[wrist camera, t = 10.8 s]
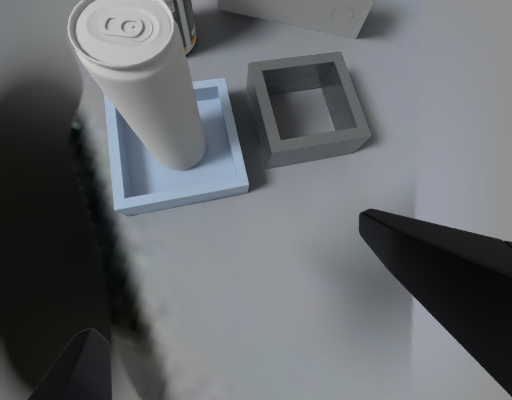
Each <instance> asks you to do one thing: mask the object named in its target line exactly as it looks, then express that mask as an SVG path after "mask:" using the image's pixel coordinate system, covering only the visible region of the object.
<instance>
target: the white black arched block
mask: <svg viewBox="0 0 512 400" xmlns="http://www.w3.org/2000/svg"><path fill="white" fill-rule="evenodd" d="M374 2H375V0H218V9H219V10H223V11H228V12H233V13H237V14H242V15H246V16H251V17H256V18H260V19H265V20H270V21H274V22H279V23H284V24H288V25H293V26H298V27H302V28H307V29H311V30H316V31H321V32H325V33H330V34H335V35H339V36H344V37H349V38H353V39H356V38H357V36H358V34H359V32H360V30H361V28H362V26H363V24H364V22H365V20H366V18H367V16H368V14H369V12H370V10H371V8H372V6H373V4H374Z"/></svg>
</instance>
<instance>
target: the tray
mask: <svg viewBox="0 0 512 400" xmlns="http://www.w3.org/2000/svg"><path fill="white" fill-rule="evenodd" d="M192 84H193V88H194V93H195V97H196V101H197V105H198V110H199V114H200V118H201V122H202V127H203V131H204V135H205V139H206V150H205V153H204V155H203V157H202V158H201V160H200V161H199V162H198V163H197V164H196V165H194V166H192V167H190V168H188V169H184V170H173V169H169V168H167V167H165V166H163V165H162V164H160V163H159V162H158V161H157V160H156V159H155V158H154V156H153V155H152V154H151V153H150V151H149V150H148V149H147V147H146V146H145V145H144V144H143V142H142V141H141V140H140V139H139V137H138V136H137V135H136V133H135V132H134V131H133V130H132V128H131V127H130V126H129V124H128V123H127V122H126V121H125V119H124V118H123V117H122V115H121V114H120V113H119V111H118V110H117V109H116V107H115V106H114V105H113V103H112V102H111V101H110V99H109V98H108V97H107V95H106V94H105V93H104V101H105V112H106V123H107V134H108V145H109V155H110V166H111V177H112V188H113V199H114V210H115V211H117V212H120V213H122V214H124V215H126V216H133V215H138V214H143V213H148V212H153V211H158V210H164V209H169V208H174V207H179V206H184V205H189V204H195V203H200V202H205V201H210V200H215V199H220V198H226V197H231V196H236V195H241V194H246V193H248V188H249V182H248V178H247V174H246V169H245V165H244V161H243V156H242V152H241V147H240V143H239V139H238V134H237V130H236V125H235V121H234V117H233V112H232V108H231V104H230V99H229V95H228V90H227V86H226V82H225V78H219V79H211V80H204V81H196V82H192Z"/></svg>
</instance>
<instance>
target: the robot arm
mask: <svg viewBox="0 0 512 400" xmlns="http://www.w3.org/2000/svg"><path fill="white" fill-rule="evenodd" d="M359 233H360V235H361V237H362V238H363V239H364V241H365V242H366V243H367V244H368V246H369V247H370V248H371V249H372V251H373V252H374V253H375V254H376V256H377V257H378V258H379V259H380V261H381V262H382V263H383V264H384V266H385V267H386V268H387V269H388V270H389V271H390V272H391V274H392V275H393V276H394V277H395V278H396V279H397V280H398V281H399V282H400V283H401V284H402V285H403V286H404V287H405V288H406V289H407V290H408V291H409V292H410V293H411V294H412V295H413V296H414V297H415V298H416V299H417V300H418V301H419V302H420V303H421V304H422V305H423V306H424V307H425V308H426V309H427V311H428V312H429V313H430V314H431V315H432V316H433V317H434V318H435V319H436V320H437V321H438V322H439V323H440V324H441V325H442V326H443V327H444V328H445V329H446V330H447V331H448V332H449V333H450V334H451V335H452V336H453V337H454V338H455V339H456V340H457V341H458V342H459V343H460V344H461V345H462V346H463V347H464V348H465V349H466V350H467V351H468V352H469V354H470V355H471V356H473V358H474V359H475V360H476V361H477V362H478V363H479V364H480V365H481V366H482V367H483V368H484V369H485V370H486V371H487V372H488V373H489V374H490V375H491V376H492V377H493V378H494V379H495V380H496V381H497V382H498V383H499V384H500V385H501V386H502V387H503V388H504V389H505V390H506V391H507V392H508V394H510V396H511V397H512V242H509V241H503V240H500V239H497V238H492V237H488V236H484V235H479V234H476V233H472V232H467V231H463V230H459V229H455V228H450V227H447V226H442V225H438V224H434V223H430V222H425V221H421V220H417V219H413V218H409V217H405V216H401V215H397V214H392V213H388V212H384V211H380V210H376V209H368V210H365V211H363V212H361V213H360V215H359ZM28 400H112V379H111V349H110V345H109V343H108V341H107V340H106V339H105V338H104V337H103V336H102V335H101V334H100V333H98V332H97V331H96V330H95V329H93V328H90V329H87V330H85V331H83V332H80V333H78V334H76V335H75V336H74V337H73V339H72V340H71V341H70V343H69V344H68V345H67V347H66V348H65V350H64V351H63V352H62V354H61V355H60V356H59V358H58V359H57V361H56V362H55V363H54V364H53V366H52V367H51V368H50V370H49V371H48V373H47V374H46V375H45V377H44V378H43V379H42V381H41V382H40V384H39V385H38V386H37V388H36V389H35V390H34V392H33V393H32V394H31V396H30V397H29V399H28Z"/></svg>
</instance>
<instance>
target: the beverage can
mask: <svg viewBox="0 0 512 400" xmlns="http://www.w3.org/2000/svg"><path fill="white" fill-rule="evenodd" d="M67 28H68V34H69V39H70V40H71V42H72V44H73V46H74V47H75V50H76V53H77V55H78V57H79V58H80V60H81V62H82V63H83V65H84V66H85V68H86V69H87V70H88V72H89V73H90V74H91V76H92V77H93V78H94V80H95V81H96V82H97V84H98V85H99V86H100V88H101V89H102V90H103V92H104V93H105V94H106V95H107V97H108V98H109V99H110V101H111V102H112V103H113V105H114V106H115V107H116V109H117V110H118V111H119V113H120V114H121V115H122V117H123V118H124V119H125V121H126V122H127V123H128V124H129V126H130V127H131V128H132V130H133V131H134V132H135V133H136V135H137V136H138V137H139V139H140V140H141V141H142V142H143V144H144V145H145V146H146V147H147V149H148V150H149V151H150V153H151V154H152V155H153V156H154V158H155V159H156V160H157V161H158V162H159V163H160V164H162V165H163V166H165V167H167V168H169V169H173V170H184V169H188V168H190V167H192V166H194V165H196V164H197V163H198V162H199V161H200V160H201V158H202V157H203V155H204V153H205V150H206V139H205V135H204V131H203V127H202V122H201V118H200V114H199V110H198V105H197V101H196V97H195V93H194V88H193V84H192V80H191V76H190V71H189V67H188V63H187V59H186V54H185V50H184V46H183V42H182V38H181V34H180V31H179V27H178V25H177V23H176V22H175V20H174V18H173V14H172V11H171V10H170V8H169V7H168V6H167V4H166V3H165V2H164V1H163V0H81V1H80V2H79V3H78V5H76V6H75V8H74V9H73V11H72V13H71V15H70V17H69V21H68V27H67Z"/></svg>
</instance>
